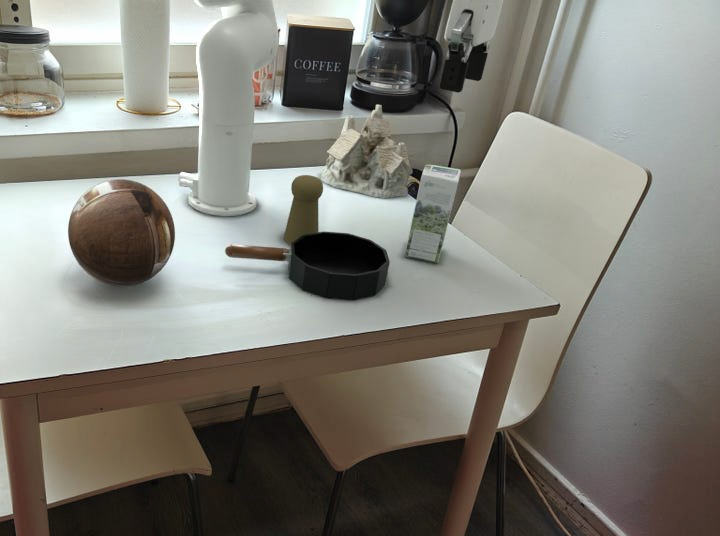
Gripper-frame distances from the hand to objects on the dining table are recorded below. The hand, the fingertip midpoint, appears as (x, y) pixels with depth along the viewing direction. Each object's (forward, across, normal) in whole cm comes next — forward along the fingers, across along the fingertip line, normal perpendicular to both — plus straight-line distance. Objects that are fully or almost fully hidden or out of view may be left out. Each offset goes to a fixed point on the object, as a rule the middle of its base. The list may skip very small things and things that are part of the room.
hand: (460, 84), depth 105 cm
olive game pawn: (+28, +9, -18) cm, 34 cm away
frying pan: (+27, +20, -12) cm, 36 cm away
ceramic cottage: (+28, -24, -21) cm, 42 cm away
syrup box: (+27, +1, +1) cm, 27 cm away
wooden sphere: (+28, +39, -32) cm, 58 cm away
